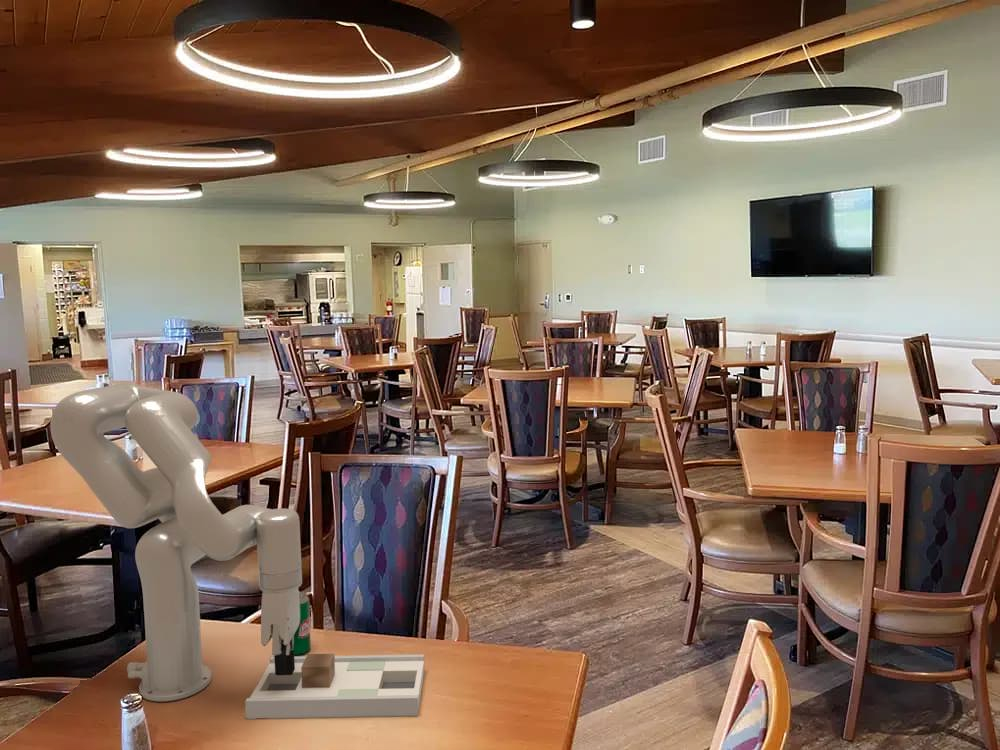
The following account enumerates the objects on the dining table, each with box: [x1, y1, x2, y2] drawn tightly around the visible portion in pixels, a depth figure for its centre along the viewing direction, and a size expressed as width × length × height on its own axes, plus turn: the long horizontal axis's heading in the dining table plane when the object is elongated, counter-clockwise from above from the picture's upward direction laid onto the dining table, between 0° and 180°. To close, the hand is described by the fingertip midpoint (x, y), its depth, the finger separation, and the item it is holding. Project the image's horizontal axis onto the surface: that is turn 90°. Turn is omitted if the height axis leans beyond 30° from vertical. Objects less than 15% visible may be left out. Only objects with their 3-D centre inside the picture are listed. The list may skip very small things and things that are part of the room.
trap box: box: [245, 653, 426, 720], centre depth 138 cm, size 30×16×3 cm, turn 91°
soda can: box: [293, 591, 312, 656], centre depth 154 cm, size 5×5×12 cm
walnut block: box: [301, 653, 335, 688], centre depth 137 cm, size 5×5×4 cm
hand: (285, 672), depth 137 cm, fingers closed
